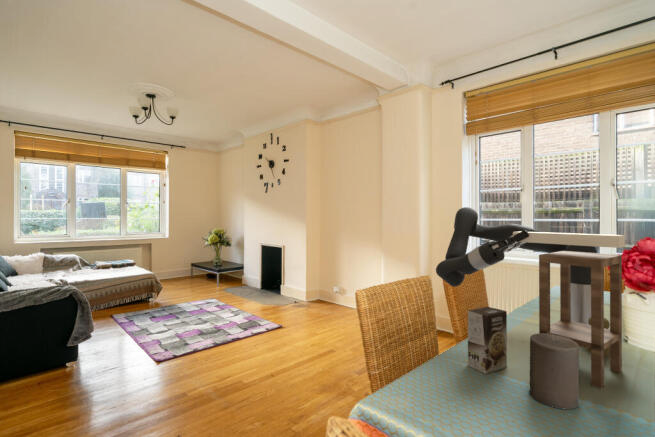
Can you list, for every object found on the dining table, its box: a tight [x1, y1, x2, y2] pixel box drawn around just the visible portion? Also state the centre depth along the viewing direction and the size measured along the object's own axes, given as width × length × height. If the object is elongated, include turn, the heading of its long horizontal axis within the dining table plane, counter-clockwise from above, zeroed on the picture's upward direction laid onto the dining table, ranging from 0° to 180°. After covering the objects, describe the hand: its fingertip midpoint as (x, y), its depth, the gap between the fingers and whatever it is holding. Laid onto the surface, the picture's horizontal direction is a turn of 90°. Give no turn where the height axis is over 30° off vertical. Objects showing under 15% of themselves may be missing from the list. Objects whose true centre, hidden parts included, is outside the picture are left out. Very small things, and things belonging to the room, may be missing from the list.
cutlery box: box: [513, 231, 626, 249], centre depth 95 cm, size 4×26×3 cm, turn 34°
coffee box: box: [467, 306, 508, 375], centre depth 95 cm, size 9×6×16 cm
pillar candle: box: [528, 333, 580, 410], centre depth 78 cm, size 10×10×15 cm
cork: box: [586, 317, 610, 358], centre depth 103 cm, size 6×6×11 cm
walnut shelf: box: [538, 251, 623, 390], centre depth 92 cm, size 16×14×32 cm
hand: (531, 232), depth 102 cm, fingers closed on cutlery box, 4 cm apart
